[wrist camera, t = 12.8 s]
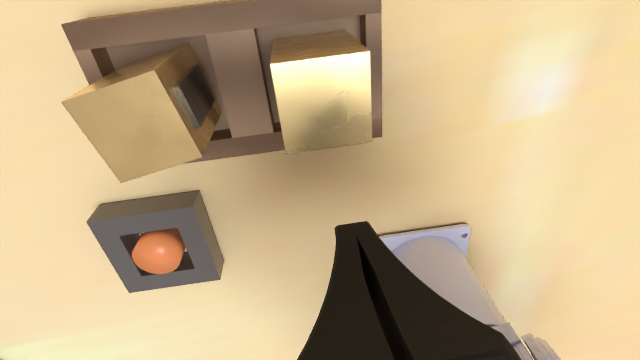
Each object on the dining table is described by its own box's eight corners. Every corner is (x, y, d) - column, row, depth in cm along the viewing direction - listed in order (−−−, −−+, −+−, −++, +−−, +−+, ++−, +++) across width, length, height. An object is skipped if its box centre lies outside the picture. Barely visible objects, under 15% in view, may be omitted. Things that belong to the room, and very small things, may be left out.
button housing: (224, 260, 28) (220, 279, 26) (138, 273, 28) (129, 292, 26) (199, 190, 24) (193, 207, 22) (100, 204, 24) (86, 221, 22)
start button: (192, 251, 26) (186, 270, 25) (151, 257, 26) (142, 276, 25) (179, 219, 25) (171, 237, 23) (135, 225, 25) (124, 244, 23)
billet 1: (161, 130, 21) (121, 183, 15) (121, 66, 18) (60, 102, 13) (225, 109, 20) (206, 155, 15) (193, 41, 18) (158, 68, 13)
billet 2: (284, 108, 21) (285, 153, 15) (273, 38, 18) (270, 64, 13) (353, 99, 21) (376, 141, 16) (349, 29, 19) (375, 50, 13)
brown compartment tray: (372, 121, 23) (382, 136, 20) (144, 151, 22) (129, 170, 20) (369, -17, 18) (381, -16, 16) (87, 18, 18) (61, 24, 16)
